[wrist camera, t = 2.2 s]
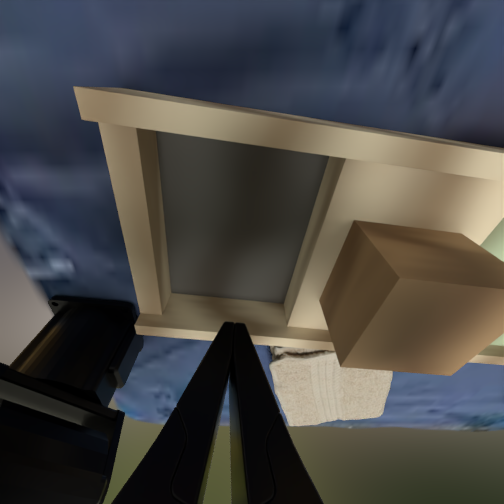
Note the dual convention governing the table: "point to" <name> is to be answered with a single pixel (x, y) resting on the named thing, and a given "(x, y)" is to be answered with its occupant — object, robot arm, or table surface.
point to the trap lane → (271, 208)
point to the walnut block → (412, 299)
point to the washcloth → (325, 387)
